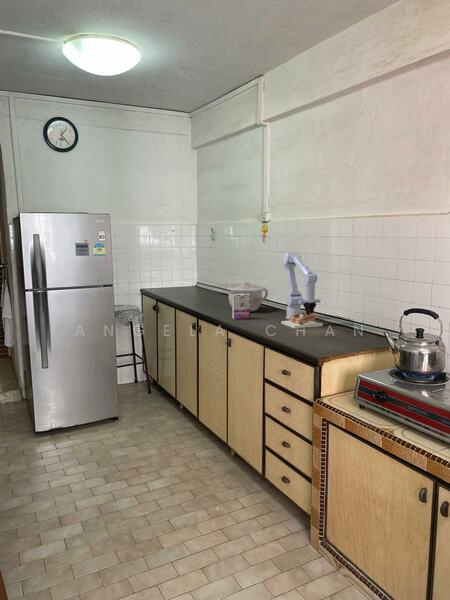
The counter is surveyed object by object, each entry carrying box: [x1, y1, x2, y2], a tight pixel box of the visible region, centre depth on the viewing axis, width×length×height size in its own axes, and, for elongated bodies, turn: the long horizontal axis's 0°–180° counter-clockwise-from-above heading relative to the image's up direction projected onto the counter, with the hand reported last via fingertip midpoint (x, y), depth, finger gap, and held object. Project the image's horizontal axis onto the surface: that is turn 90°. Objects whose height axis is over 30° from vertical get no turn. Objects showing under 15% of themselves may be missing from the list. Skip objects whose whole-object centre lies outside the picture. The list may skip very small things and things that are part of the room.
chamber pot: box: [226, 282, 269, 313], centre depth 332 cm, size 28×28×21 cm
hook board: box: [280, 314, 324, 329], centre depth 283 cm, size 16×20×6 cm
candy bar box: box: [231, 294, 251, 321], centre depth 301 cm, size 11×5×16 cm, turn 105°
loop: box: [288, 310, 317, 325], centre depth 283 cm, size 12×12×3 cm
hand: (309, 314), depth 285 cm, fingers closed on loop, 2 cm apart
